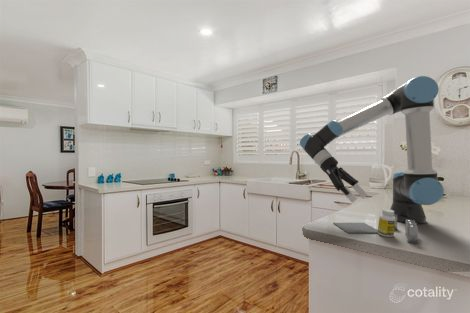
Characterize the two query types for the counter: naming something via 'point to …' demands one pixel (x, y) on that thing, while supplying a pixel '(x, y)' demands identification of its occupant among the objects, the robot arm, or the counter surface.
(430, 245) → the counter surface
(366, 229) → the mat
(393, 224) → the supplement bottle
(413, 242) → the spacer field
